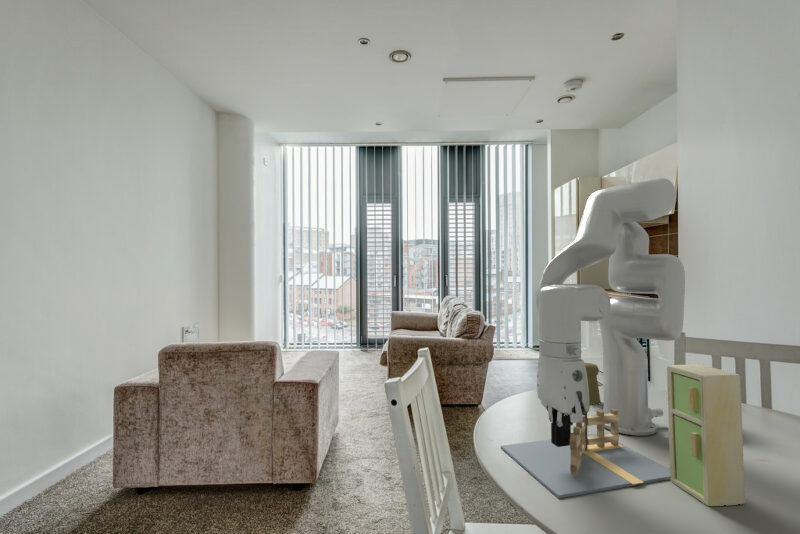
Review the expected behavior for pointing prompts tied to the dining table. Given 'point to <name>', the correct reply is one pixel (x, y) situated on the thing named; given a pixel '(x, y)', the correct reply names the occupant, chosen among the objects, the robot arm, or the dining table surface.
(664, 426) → the dining table surface
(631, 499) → the dining table surface
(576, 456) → the fence gate
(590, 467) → the card
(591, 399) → the cork
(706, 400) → the toy refrigerator
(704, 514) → the dining table surface
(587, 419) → the fence fixed
